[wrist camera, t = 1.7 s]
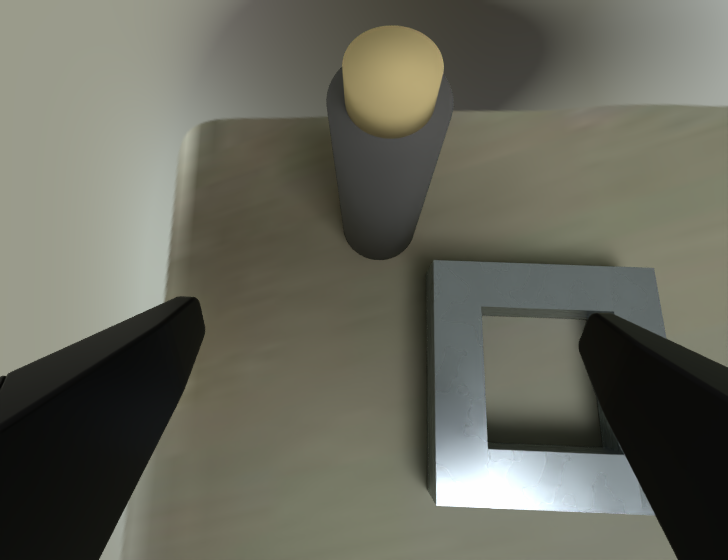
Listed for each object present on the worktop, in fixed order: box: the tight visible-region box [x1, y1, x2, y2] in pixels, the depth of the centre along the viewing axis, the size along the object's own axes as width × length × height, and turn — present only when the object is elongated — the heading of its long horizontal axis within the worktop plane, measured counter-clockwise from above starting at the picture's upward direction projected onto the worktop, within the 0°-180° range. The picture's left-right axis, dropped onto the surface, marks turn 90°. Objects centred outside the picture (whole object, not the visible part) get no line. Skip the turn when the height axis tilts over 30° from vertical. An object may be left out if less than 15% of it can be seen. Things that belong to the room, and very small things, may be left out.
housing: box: [426, 260, 666, 515], centre depth 20 cm, size 12×12×2 cm
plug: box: [327, 26, 454, 260], centre depth 18 cm, size 4×4×12 cm
